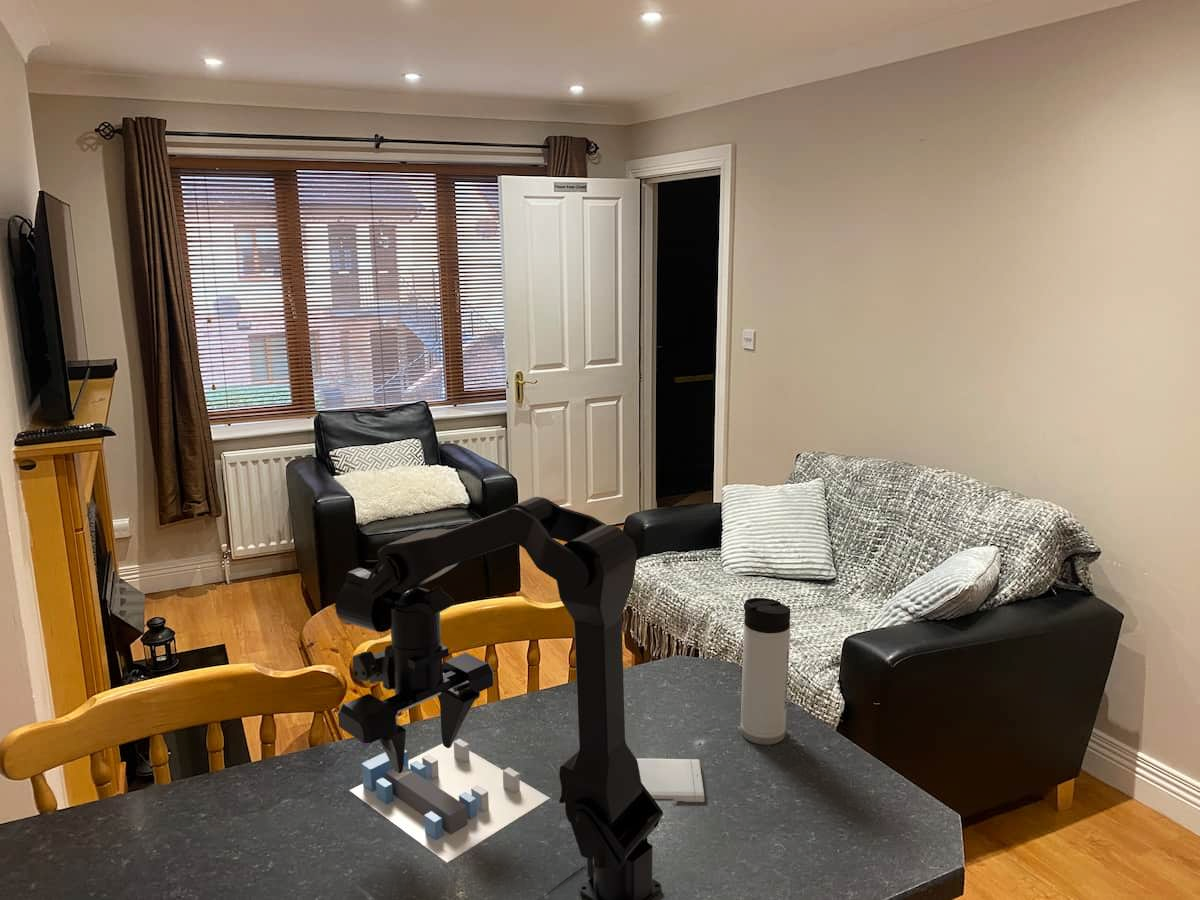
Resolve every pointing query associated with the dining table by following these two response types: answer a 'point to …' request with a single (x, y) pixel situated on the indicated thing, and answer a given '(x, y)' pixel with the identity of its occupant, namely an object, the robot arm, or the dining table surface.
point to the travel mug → (765, 670)
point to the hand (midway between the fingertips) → (423, 758)
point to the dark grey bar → (428, 798)
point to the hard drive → (672, 779)
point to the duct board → (462, 777)
